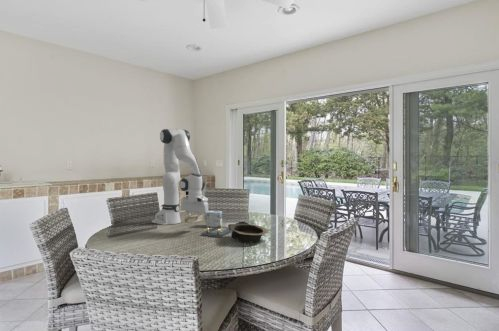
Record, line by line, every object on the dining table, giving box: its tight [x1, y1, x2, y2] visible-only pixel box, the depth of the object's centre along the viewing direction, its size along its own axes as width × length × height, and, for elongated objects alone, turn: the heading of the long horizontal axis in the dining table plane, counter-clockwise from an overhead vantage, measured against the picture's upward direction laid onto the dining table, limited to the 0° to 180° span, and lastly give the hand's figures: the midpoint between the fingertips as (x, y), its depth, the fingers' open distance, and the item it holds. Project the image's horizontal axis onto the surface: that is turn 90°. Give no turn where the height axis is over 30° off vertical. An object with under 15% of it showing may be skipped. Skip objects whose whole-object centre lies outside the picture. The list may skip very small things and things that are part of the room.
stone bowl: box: [227, 221, 269, 244], centre depth 178 cm, size 25×25×9 cm
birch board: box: [184, 214, 204, 224], centre depth 195 cm, size 5×13×3 cm, turn 154°
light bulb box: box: [205, 210, 223, 228], centre depth 213 cm, size 11×7×11 cm, turn 84°
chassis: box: [201, 223, 233, 239], centre depth 194 cm, size 14×21×4 cm, turn 156°
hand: (193, 218), depth 194 cm, fingers closed on birch board, 5 cm apart
